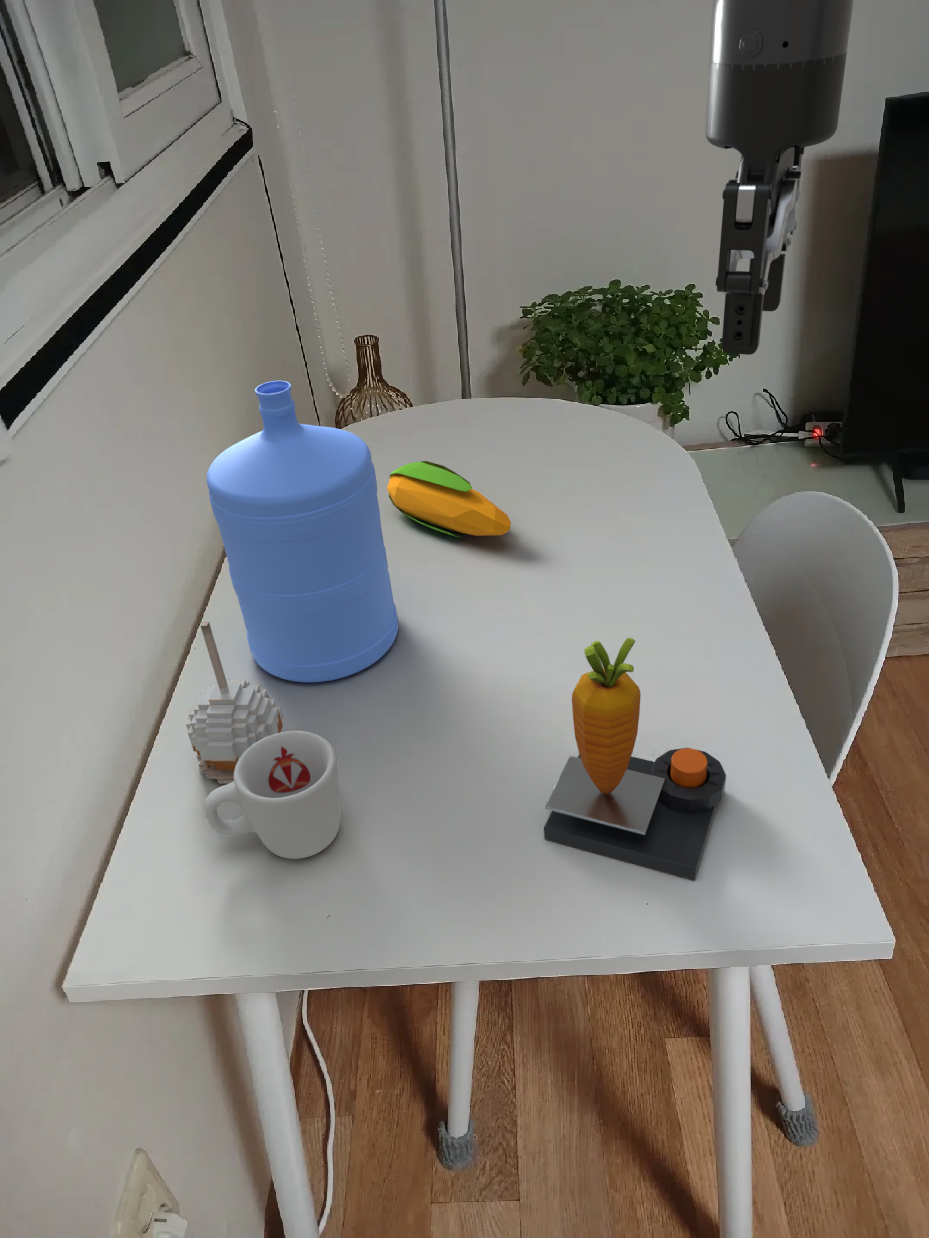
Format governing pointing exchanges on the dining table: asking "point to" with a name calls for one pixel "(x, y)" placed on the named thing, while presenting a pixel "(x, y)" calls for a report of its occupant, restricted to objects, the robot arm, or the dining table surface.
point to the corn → (444, 501)
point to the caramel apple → (228, 719)
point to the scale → (653, 823)
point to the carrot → (606, 716)
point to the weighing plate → (606, 798)
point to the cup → (283, 794)
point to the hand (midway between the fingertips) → (751, 329)
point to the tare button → (688, 768)
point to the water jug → (304, 544)
